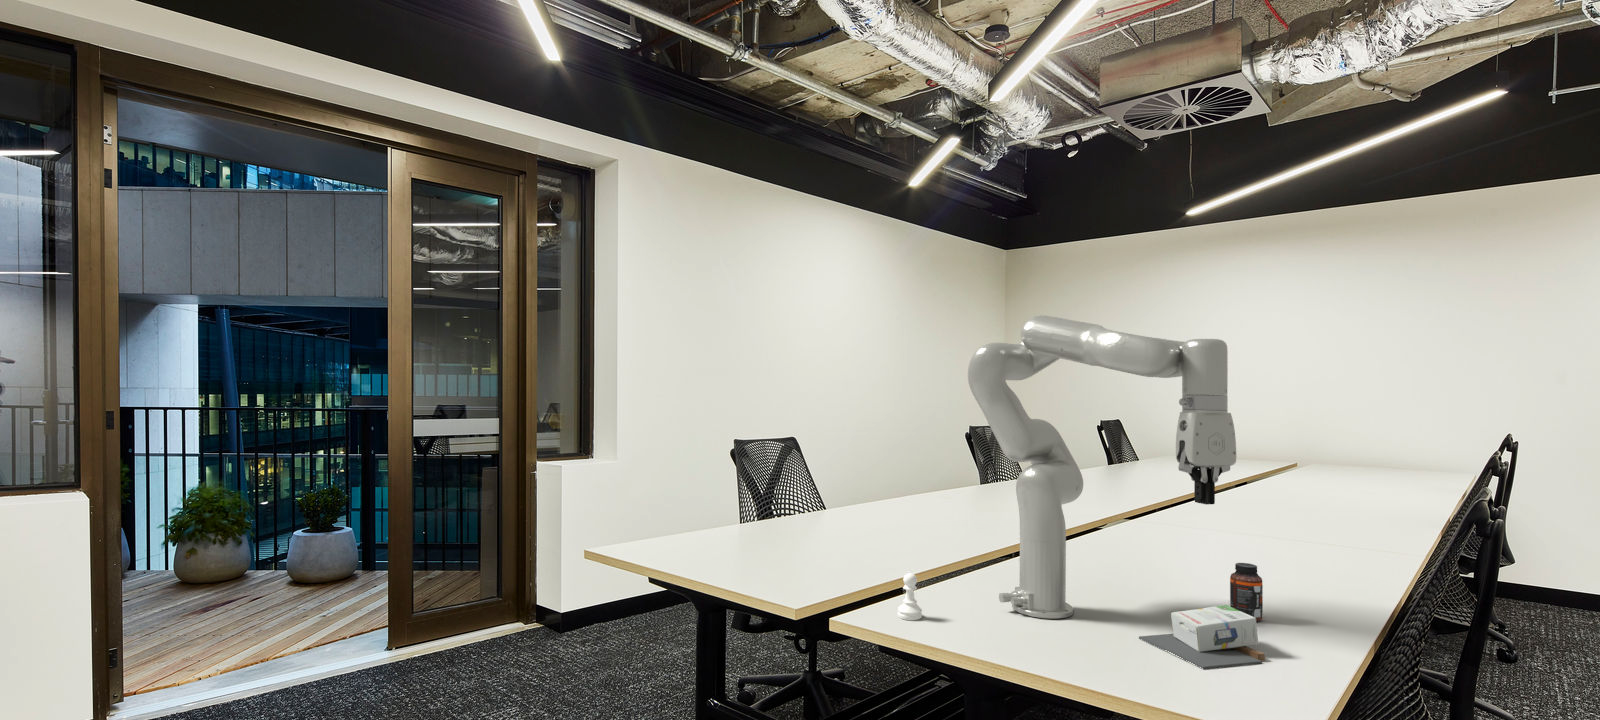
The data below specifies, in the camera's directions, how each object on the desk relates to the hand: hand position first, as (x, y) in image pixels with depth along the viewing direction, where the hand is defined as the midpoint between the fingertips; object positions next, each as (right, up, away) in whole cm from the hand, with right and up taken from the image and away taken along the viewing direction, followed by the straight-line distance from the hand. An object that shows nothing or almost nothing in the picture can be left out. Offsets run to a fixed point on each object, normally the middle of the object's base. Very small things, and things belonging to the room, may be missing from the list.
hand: (1204, 503), depth 141 cm
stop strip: (+5, -27, +1) cm, 28 cm away
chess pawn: (-53, -27, +16) cm, 61 cm away
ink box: (+8, -23, +2) cm, 25 cm away
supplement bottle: (+19, -28, +19) cm, 39 cm away
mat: (-2, -27, -1) cm, 27 cm away
